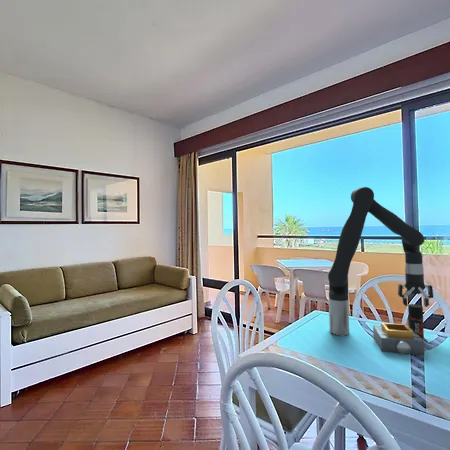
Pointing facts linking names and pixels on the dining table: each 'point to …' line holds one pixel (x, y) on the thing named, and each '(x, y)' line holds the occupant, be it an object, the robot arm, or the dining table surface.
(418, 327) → the deodorant
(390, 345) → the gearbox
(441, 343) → the dining table surface
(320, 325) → the dining table surface
